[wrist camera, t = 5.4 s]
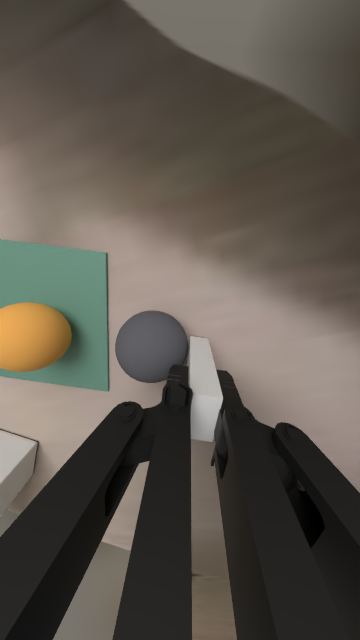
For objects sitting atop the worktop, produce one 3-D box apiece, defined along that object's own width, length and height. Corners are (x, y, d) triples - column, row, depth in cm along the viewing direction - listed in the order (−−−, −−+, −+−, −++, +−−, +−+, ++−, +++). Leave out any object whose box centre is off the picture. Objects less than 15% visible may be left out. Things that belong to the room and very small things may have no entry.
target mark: (108, 390, 18) (108, 391, 18) (-16, 372, 18) (-18, 373, 18) (106, 252, 14) (105, 252, 14) (-55, 232, 14) (-58, 232, 14)
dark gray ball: (122, 410, 10) (106, 359, 15) (191, 389, 13) (162, 352, 18) (132, 331, 8) (111, 299, 13) (210, 327, 12) (172, 302, 16)
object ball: (36, 393, 12) (-32, 381, 12) (88, 353, 17) (39, 345, 17) (16, 319, 10) (-63, 308, 10) (81, 299, 15) (26, 293, 15)
